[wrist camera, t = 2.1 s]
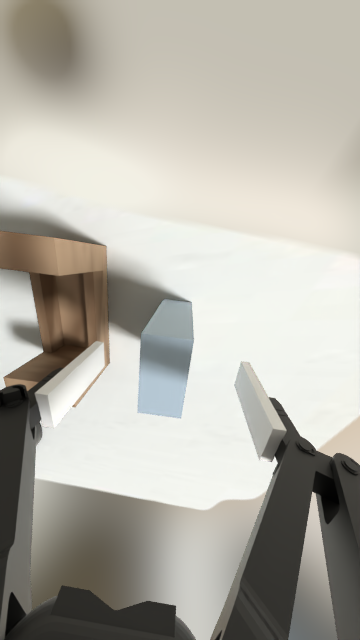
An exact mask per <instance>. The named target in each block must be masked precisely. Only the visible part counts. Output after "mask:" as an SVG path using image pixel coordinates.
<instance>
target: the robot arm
mask: <svg viewBox="0 0 360 640" xmlns="http://www.w3.org/2000/svg"><path fill="white" fill-rule="evenodd" d="M104 367H105V360H104V342H98V341H95V342H94V343H93V344H92V345H91V346H90V347H88V348H87V349H86V350H85V351H84V352H82V353H81V354H80V355H79V356H78V357H77V358H75V359H74V360H73V361H72V362H71V363H70V364H68V365H67V366H66V367H65V368H58V369H56V370H54V371H52V372H51V373H50V374H48V375H47V377H45V378H43V379H42V381H40V382H38V383H37V384H36V385H35V386H33V387H32V388H31V389H30V390H28V391H27V389H26V386H25V385H23V384H16V385H11V386H8V387H6V388H4V389H2V390H0V640H196V639H195V637H194V636H193V634H192V633H191V631H190V630H189V628H188V627H187V626H186V625H185V624H184V623H183V621H182V620H180V619H179V618H178V617H177V616H176V615H175V614H176V606H174V605H168V604H162V603H157V602H151V601H146V602H142V603H139V604H136V605H133V606H130V607H127V608H124V609H121V610H113V609H112V608H110V607H109V606H108V605H107V604H105V603H104V602H103V601H102V600H101V599H99V598H98V597H97V596H96V595H94V594H93V593H92V592H91V591H89V590H84V589H79V588H72V587H67V586H61V589H60V591H59V594H58V596H56V597H53V598H51V599H49V600H47V601H45V602H43V603H42V604H40V605H39V606H37V607H36V608H34V609H33V610H32V591H31V581H30V564H31V542H32V520H33V498H34V476H35V454H36V445H37V444H38V443H39V442H40V440H41V437H42V429H41V426H40V424H39V422H40V420H41V422H42V427H48V428H55V427H56V425H57V424H58V423H59V422H60V421H61V419H62V418H63V417H64V416H65V414H66V413H67V412H68V411H69V410H70V408H71V407H72V406H73V405H74V403H75V402H76V401H77V400H78V399H79V397H80V396H81V395H82V394H83V392H84V391H85V390H86V389H87V388H88V386H89V385H90V384H91V383H92V381H93V380H94V379H95V378H96V377H97V375H98V374H99V373H100V372H101V370H102V369H103V368H104ZM235 388H236V391H237V394H238V397H239V400H240V403H241V406H242V409H243V412H244V415H245V418H246V421H247V424H248V427H249V430H250V433H251V436H252V439H253V442H254V445H255V448H256V451H257V454H258V457H259V460H262V461H268V462H272V461H273V459H274V456H275V457H276V459H277V462H278V464H277V466H276V468H275V470H274V472H273V477H272V479H271V482H270V485H269V487H268V490H267V493H266V495H265V498H264V501H263V504H262V506H261V509H260V511H259V514H258V517H257V520H256V522H255V525H254V528H253V531H252V533H251V536H250V538H249V541H248V544H247V546H246V549H245V552H244V554H243V557H242V560H241V562H240V565H239V568H238V570H237V573H236V576H235V578H234V581H233V584H232V586H231V589H230V592H229V594H228V597H227V600H226V602H225V605H224V608H223V610H222V612H221V615H220V617H219V619H218V622H217V624H216V626H215V629H214V631H213V634H212V637H211V639H210V640H288V637H289V630H290V624H291V618H292V611H293V605H294V600H295V594H296V587H297V581H298V575H299V569H300V563H301V557H302V551H303V544H304V538H305V532H306V526H307V520H308V514H309V508H310V501H311V495H312V492H314V493H316V497H317V504H318V511H319V518H320V524H321V531H322V538H323V545H324V551H325V558H326V565H327V571H328V577H329V585H330V591H331V598H332V604H333V611H334V618H335V625H336V631H337V638H338V640H360V465H359V464H358V463H357V462H355V461H354V460H353V459H351V458H350V457H348V456H346V455H344V454H341V453H336V454H335V455H334V456H333V458H332V457H330V456H327V455H325V454H323V453H320V452H318V451H316V449H315V448H314V446H313V445H312V444H311V443H310V442H309V441H307V440H306V439H304V438H302V437H301V436H300V435H299V433H298V432H297V430H296V428H295V427H294V425H293V423H292V422H291V420H290V418H289V417H288V415H287V414H286V412H285V410H284V409H283V407H282V405H281V404H280V403H279V402H278V401H277V400H276V399H275V398H270V397H268V396H267V394H266V392H265V390H264V388H263V387H262V385H261V383H260V381H259V379H258V377H257V376H256V374H255V372H254V370H253V368H252V367H251V365H250V363H248V362H241V364H240V367H239V371H238V374H237V378H236V381H235Z"/></svg>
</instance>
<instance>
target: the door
mask: <svg viewBox="0 0 360 640" xmlns="http://www.w3.org/2000/svg"><path fill="white" fill-rule="evenodd" d="M193 342H194V336H193V317H192V302H184V301H177V300H169V299H163V301H162V302H161V304H160V305H159V307H158V308H157V310H156V312H155V313H154V315H153V316H152V318H151V319H150V321H149V322H148V324H147V325H146V327H145V328H144V330H143V331H142V333H141V348H140V371H139V394H138V413H145V414H152V415H159V416H167V417H174V418H181V415H182V409H183V403H184V397H185V391H186V385H187V379H188V372H189V366H190V360H191V354H192V348H193Z"/></svg>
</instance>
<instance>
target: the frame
mask: <svg viewBox="0 0 360 640" xmlns="http://www.w3.org/2000/svg"><path fill="white" fill-rule="evenodd" d="M0 268H2V269H9V270H17V271H25V272H29V274H30V279H31V285H32V290H33V296H34V301H35V307H36V312H37V318H38V323H39V329H40V334H41V340H42V345H43V351H44V352H43V353H41V354H40V355H38V356H37V357H35V358H33V359H32V360H30V361H29V362H27V363H25V364H24V365H22V366H21V367H19V368H18V369H16V370H14V371H13V372H11V373H10V374H8V375H7V376H5V377H3V378H4V381H5V385H6V387H8V386H11V385H16V384H23V385H25V386H26V389H27V391H28V390H30V389H31V388H32V387H33V386H35V385H36V384H37V383H38V382H40V381H42V379H43V378H45V377H47V375H48V374H50V373H51V372H52V371H54V370H56V369H58V368H65V367H66V366H67V365H68V364H70V363H71V362H72V361H73V360H74V359H75V358H77V357H78V356H79V355H80V354H81V353H82V352H84V351H85V350H86V349H87V348H88V347H90V346H91V345H92V344H93V343H94V342H95V341H98V342H104V360H105V367H104V368H103V369H102V370H101V372H100V373H99V374H98V375H97V377H96V378H95V379H94V380H93V381H92V383H91V384H90V385H89V386H88V388H87V389H86V390H85V391H84V392H83V394H82V395H81V396H80V397H79V399H78V400H77V401H76V402H75V403H74V405H73V406H72V407H76V406H77V404H78V403H79V402H80V400H81V399H82V398H83V397H84V395H85V394H86V393H87V391H88V390H89V389H90V388H91V386H92V385H93V384H94V382H95V381H96V380H97V379H98V377H99V376H100V375H101V373H102V372H103V371H104V369H105V368H106V367H107V366H108V364H109V363H110V359H109V324H108V290H107V255H106V246H102V245H96V244H90V243H84V242H78V241H72V240H65V239H59V238H53V237H45V236H37V235H29V234H21V233H13V232H5V231H0Z"/></svg>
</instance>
